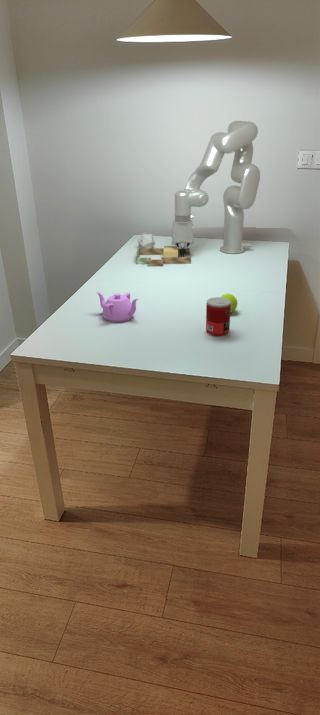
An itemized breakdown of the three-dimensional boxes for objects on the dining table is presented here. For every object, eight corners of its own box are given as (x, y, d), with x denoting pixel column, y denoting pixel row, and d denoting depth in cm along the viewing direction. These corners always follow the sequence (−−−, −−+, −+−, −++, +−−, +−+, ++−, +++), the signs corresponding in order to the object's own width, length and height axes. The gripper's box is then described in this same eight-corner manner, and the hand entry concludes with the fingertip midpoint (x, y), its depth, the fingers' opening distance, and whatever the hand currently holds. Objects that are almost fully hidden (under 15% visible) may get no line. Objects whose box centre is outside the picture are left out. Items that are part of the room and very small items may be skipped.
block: (178, 256, 255) (178, 247, 253) (177, 260, 249) (177, 251, 247) (163, 256, 256) (163, 247, 254) (163, 260, 250) (163, 251, 247)
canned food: (228, 337, 170) (230, 306, 165) (204, 335, 172) (205, 305, 167) (230, 327, 177) (231, 297, 172) (206, 326, 178) (207, 296, 173)
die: (138, 248, 271) (132, 236, 263) (150, 238, 272) (146, 226, 264) (146, 256, 267) (141, 245, 259) (159, 247, 268) (155, 235, 260)
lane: (189, 251, 261) (189, 244, 259) (191, 265, 240) (191, 257, 239) (138, 252, 262) (138, 244, 260) (135, 266, 241) (135, 258, 239)
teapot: (139, 321, 183) (138, 298, 179) (100, 325, 181) (98, 301, 177) (134, 309, 194) (133, 287, 190) (97, 312, 192) (95, 290, 187)
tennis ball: (232, 317, 185) (233, 299, 182) (214, 314, 188) (215, 296, 185) (239, 310, 191) (240, 292, 187) (222, 307, 194) (222, 290, 190)
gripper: (198, 216, 245) (197, 254, 254) (166, 216, 245) (167, 254, 254) (199, 219, 239) (198, 258, 247) (166, 220, 239) (167, 258, 247)
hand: (182, 256), depth 250 cm, fingers closed
